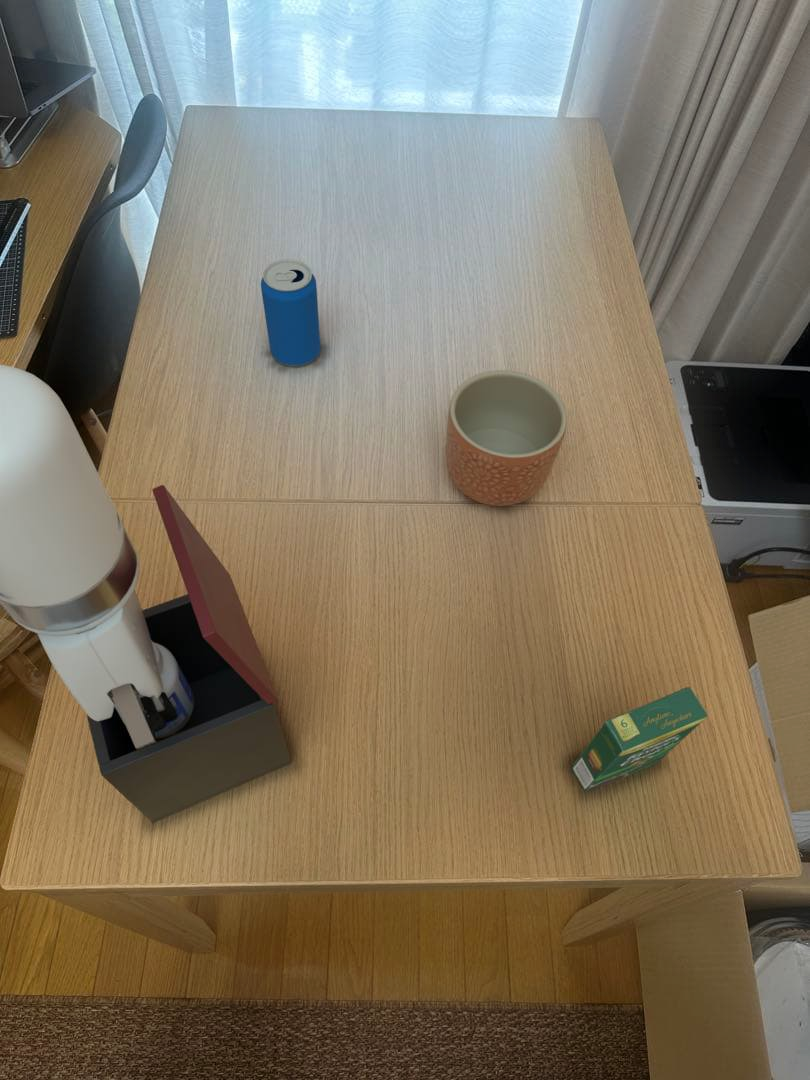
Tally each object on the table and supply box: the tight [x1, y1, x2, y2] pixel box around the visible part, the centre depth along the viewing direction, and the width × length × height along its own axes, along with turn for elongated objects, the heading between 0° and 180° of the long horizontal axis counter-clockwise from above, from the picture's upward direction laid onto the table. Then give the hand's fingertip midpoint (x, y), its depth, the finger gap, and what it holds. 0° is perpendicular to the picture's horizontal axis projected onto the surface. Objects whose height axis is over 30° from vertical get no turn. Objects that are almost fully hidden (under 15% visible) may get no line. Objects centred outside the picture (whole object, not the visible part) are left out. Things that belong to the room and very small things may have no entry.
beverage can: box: [260, 258, 322, 367], centre depth 91 cm, size 6×6×12 cm
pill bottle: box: [114, 640, 194, 739], centre depth 56 cm, size 5×5×10 cm
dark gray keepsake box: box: [86, 593, 292, 824], centre depth 62 cm, size 13×12×15 cm
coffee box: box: [570, 686, 708, 794], centre depth 62 cm, size 8×3×13 cm, turn 111°
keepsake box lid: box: [152, 484, 279, 704], centre depth 51 cm, size 14×12×1 cm
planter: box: [444, 369, 568, 507], centre depth 81 cm, size 12×12×11 cm
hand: (145, 686), depth 56 cm, fingers closed on pill bottle, 5 cm apart
